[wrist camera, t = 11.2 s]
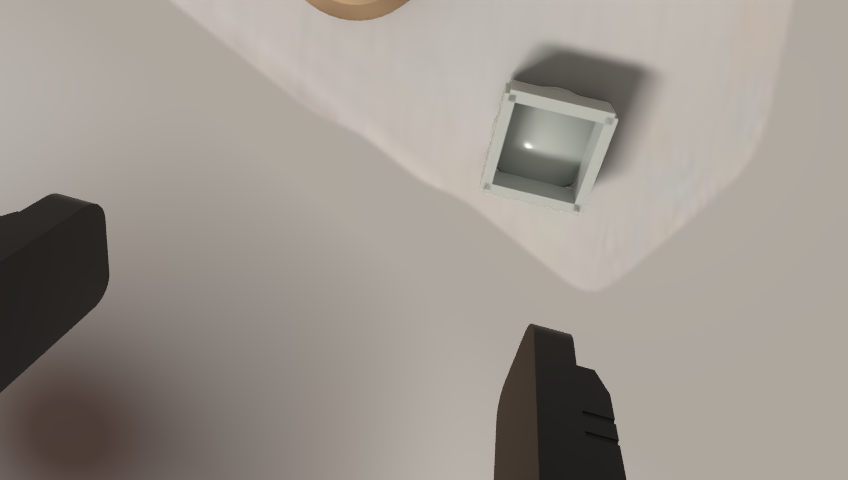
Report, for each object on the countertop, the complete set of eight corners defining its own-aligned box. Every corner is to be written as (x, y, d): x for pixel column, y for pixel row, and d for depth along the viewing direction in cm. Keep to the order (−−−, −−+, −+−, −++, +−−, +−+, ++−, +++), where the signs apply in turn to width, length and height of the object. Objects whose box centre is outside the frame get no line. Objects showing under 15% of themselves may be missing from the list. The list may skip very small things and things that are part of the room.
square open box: (506, 74, 41) (505, 86, 38) (614, 99, 41) (622, 114, 38) (479, 173, 45) (476, 192, 42) (578, 197, 45) (582, 217, 42)
